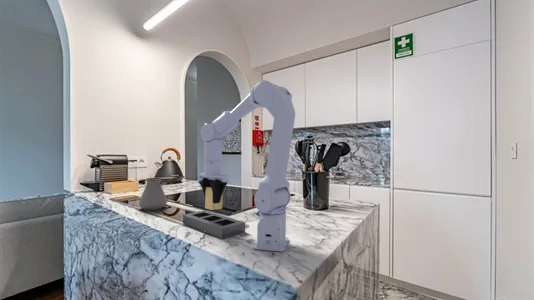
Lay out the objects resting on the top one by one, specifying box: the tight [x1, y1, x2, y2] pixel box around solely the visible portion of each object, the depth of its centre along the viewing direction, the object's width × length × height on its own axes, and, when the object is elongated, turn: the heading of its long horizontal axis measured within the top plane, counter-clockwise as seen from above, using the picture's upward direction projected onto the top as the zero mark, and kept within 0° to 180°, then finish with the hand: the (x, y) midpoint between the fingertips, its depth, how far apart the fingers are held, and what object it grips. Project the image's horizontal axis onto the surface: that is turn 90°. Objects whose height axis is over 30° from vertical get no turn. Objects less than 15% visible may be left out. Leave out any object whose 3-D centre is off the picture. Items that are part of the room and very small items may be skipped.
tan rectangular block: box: [204, 186, 224, 211], centre depth 84 cm, size 4×4×7 cm
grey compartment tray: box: [182, 210, 246, 240], centre depth 83 cm, size 22×9×3 cm, turn 47°
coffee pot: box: [138, 174, 186, 211], centre depth 108 cm, size 21×12×15 cm, turn 71°
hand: (212, 202), depth 83 cm, fingers closed on tan rectangular block, 4 cm apart
